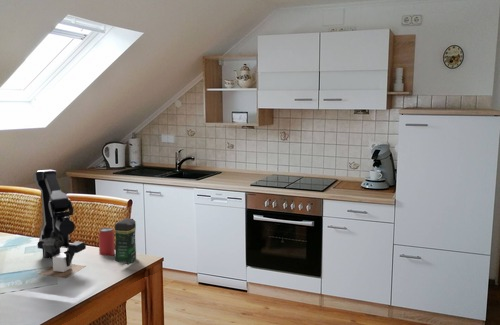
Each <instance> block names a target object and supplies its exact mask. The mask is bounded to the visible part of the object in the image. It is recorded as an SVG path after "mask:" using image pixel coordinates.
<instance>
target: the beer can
mask: <svg viewBox="0 0 500 325" xmlns="http://www.w3.org/2000/svg"><path fill="white" fill-rule="evenodd" d="M98 245H99V246H98V248H99V252H98V253H99V255H102V256H108V257H109V256H110V257H113V256H115V231H114V228H112V227H103V228H101V229H99V232H98Z"/></svg>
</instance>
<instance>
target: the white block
mask: <svg viewBox="0 0 500 325" xmlns="http://www.w3.org/2000/svg"><path fill="white" fill-rule="evenodd" d="M72 261H73V260H72ZM72 261H71V263H70V266H68V267H67V264H66V255H65V253H64V252H60V253H59V254H57V255H55V256H53V258H52V266H53V271H59V272H65V271H67V270H69V269H70V268H72V264H73V262H72Z"/></svg>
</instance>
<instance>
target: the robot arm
mask: <svg viewBox="0 0 500 325" xmlns="http://www.w3.org/2000/svg"><path fill="white" fill-rule="evenodd" d="M33 180H34V182H35V185H36V187H37V188H38V189H39V191H40V197H41V202H42V203H41V206H42V213H43V221H44V222H43V223H44V224H43V226H42V228H41V232H40V233H41V234H40V235H39V240H38V242H37V249H41V250H42V257H44V258H45V259H53V256H55V255H57V254H59V253H61V248H62V249H66V251H64V252H63V253H65V255H66V264H67V267H68V266H70V263H71V261H73V258H74V256H75V255H76V254H78V253H80V252H82V251H84V250H86V247H87V246H86V245H87V244H86V243H85V242H84V241H78V240H76V241H74V242H72V239H71V238H70V235H71V234H72V233H73V232H74V231H75V229H76V225H75V222H74V221H72V220H71V218H70V216H73V215H74V211H75V210H74V206H73V202H72V201H71V199H70V198H69V197H68V195H67V193H65V192H63V191H62V189H61V187H60V183H59V180H58V172H57V170H56V169H55V170H54V169H42V170H41V169H40V170H36V172H34V173H33ZM70 242H72V243H70Z"/></svg>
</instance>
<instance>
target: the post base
mask: <svg viewBox="0 0 500 325" xmlns="http://www.w3.org/2000/svg"><path fill="white" fill-rule="evenodd" d="M86 267H87V265H83V264H82V265H81V264H74V263H72V268H70V269H69V270H67V271H65V272H59V271H53V265H52V266H50V267H48V268H46V269H44V270H43V271H40V272H38V275H41V276H42V275H43V276H48V277H49V276H50V277H55V278H63V279H66V278H68V277H71V276H72V275H75V273H77V272H79V271H80V270H82V269H83V268H84V269H85V268H86Z"/></svg>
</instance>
